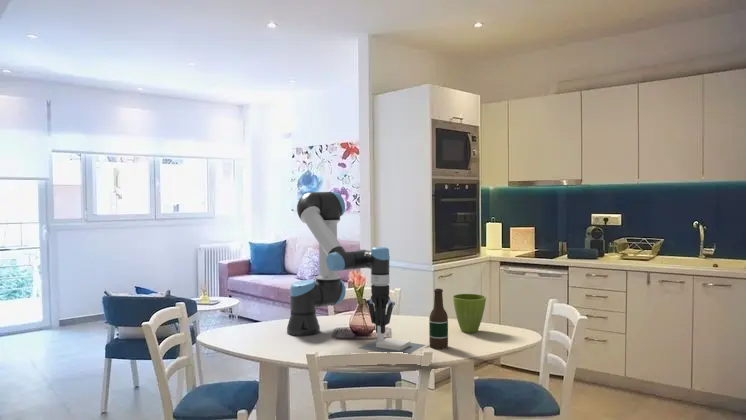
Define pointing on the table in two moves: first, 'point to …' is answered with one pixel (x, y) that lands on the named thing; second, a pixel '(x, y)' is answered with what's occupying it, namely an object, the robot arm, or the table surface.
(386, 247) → the robot arm
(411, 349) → the mat
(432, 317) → the beer bottle
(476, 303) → the flower pot
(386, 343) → the tile
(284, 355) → the table surface
